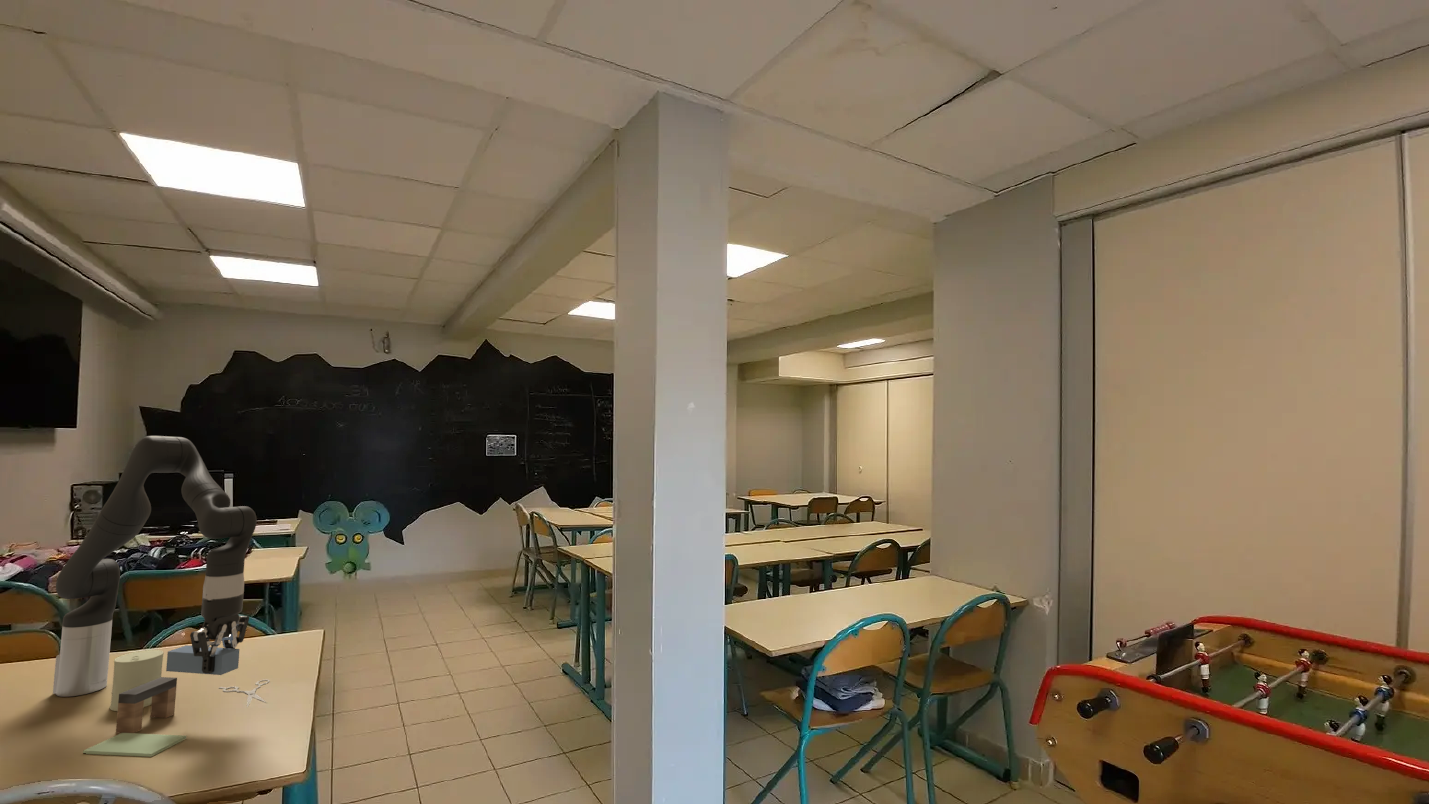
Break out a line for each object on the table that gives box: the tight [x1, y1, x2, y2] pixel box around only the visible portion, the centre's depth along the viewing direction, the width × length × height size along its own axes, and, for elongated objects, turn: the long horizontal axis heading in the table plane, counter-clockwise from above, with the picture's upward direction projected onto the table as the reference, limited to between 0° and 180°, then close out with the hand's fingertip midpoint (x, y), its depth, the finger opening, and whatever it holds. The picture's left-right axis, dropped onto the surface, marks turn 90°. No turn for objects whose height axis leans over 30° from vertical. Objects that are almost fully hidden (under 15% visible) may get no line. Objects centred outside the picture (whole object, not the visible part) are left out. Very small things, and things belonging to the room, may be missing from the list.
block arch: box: [115, 676, 178, 734], centre depth 142 cm, size 4×10×8 cm, turn 177°
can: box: [109, 649, 165, 712], centre depth 153 cm, size 9×9×12 cm
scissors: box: [218, 679, 270, 708], centre depth 159 cm, size 11×1×20 cm
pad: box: [82, 732, 187, 758], centre depth 132 cm, size 15×8×1 cm, turn 87°
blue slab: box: [165, 645, 240, 676], centre depth 142 cm, size 14×4×4 cm, turn 83°
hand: (217, 668), depth 142 cm, fingers closed on blue slab, 4 cm apart
